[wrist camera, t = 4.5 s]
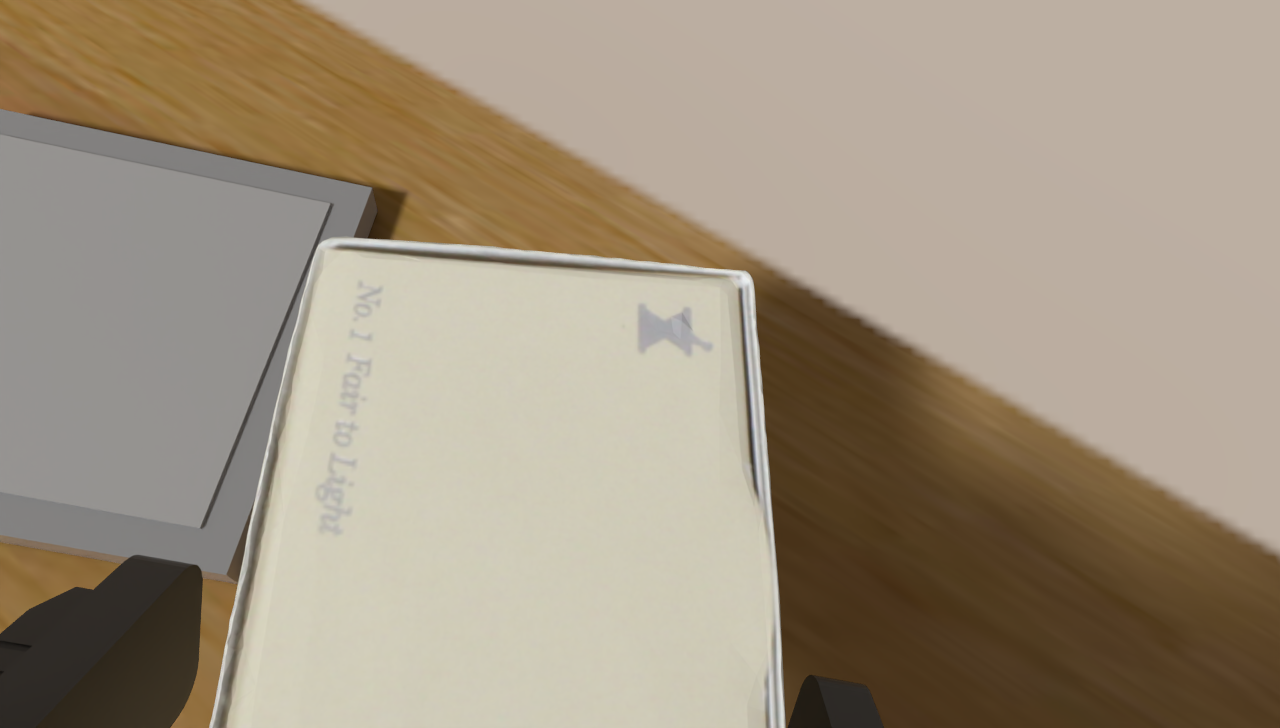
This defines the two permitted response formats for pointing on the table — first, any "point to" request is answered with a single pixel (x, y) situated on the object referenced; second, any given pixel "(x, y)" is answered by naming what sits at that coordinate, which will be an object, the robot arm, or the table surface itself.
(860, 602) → the table surface
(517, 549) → the skincare box
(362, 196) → the plate
